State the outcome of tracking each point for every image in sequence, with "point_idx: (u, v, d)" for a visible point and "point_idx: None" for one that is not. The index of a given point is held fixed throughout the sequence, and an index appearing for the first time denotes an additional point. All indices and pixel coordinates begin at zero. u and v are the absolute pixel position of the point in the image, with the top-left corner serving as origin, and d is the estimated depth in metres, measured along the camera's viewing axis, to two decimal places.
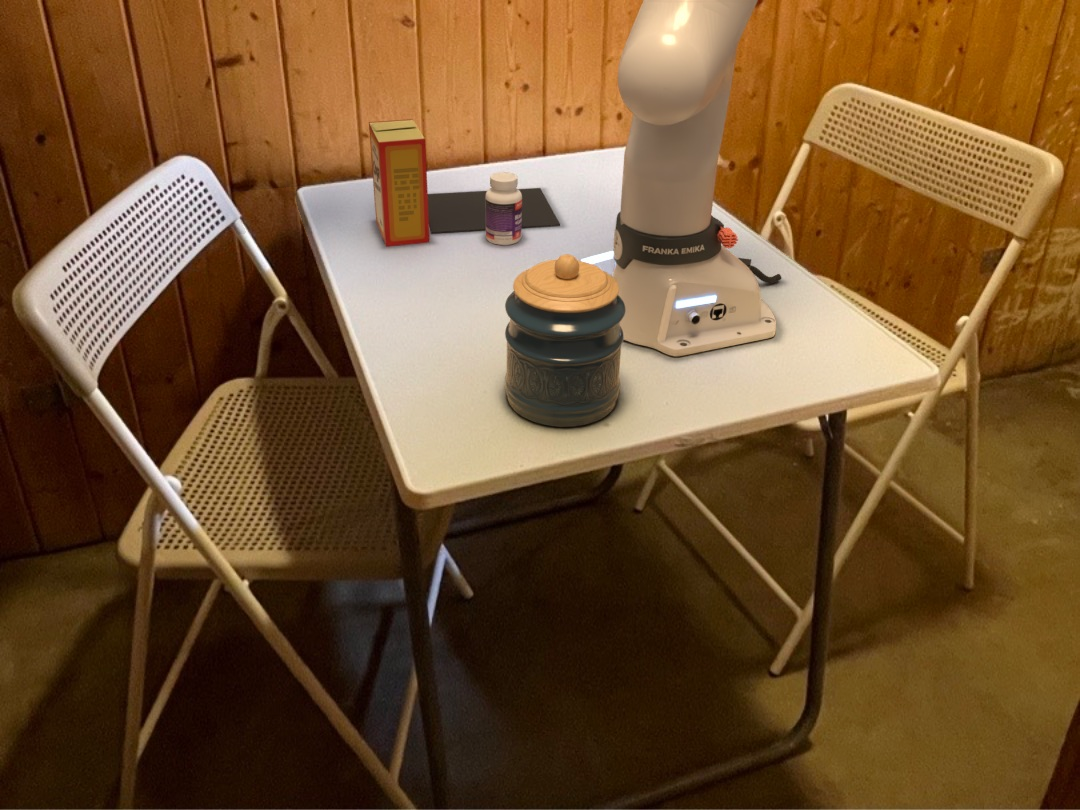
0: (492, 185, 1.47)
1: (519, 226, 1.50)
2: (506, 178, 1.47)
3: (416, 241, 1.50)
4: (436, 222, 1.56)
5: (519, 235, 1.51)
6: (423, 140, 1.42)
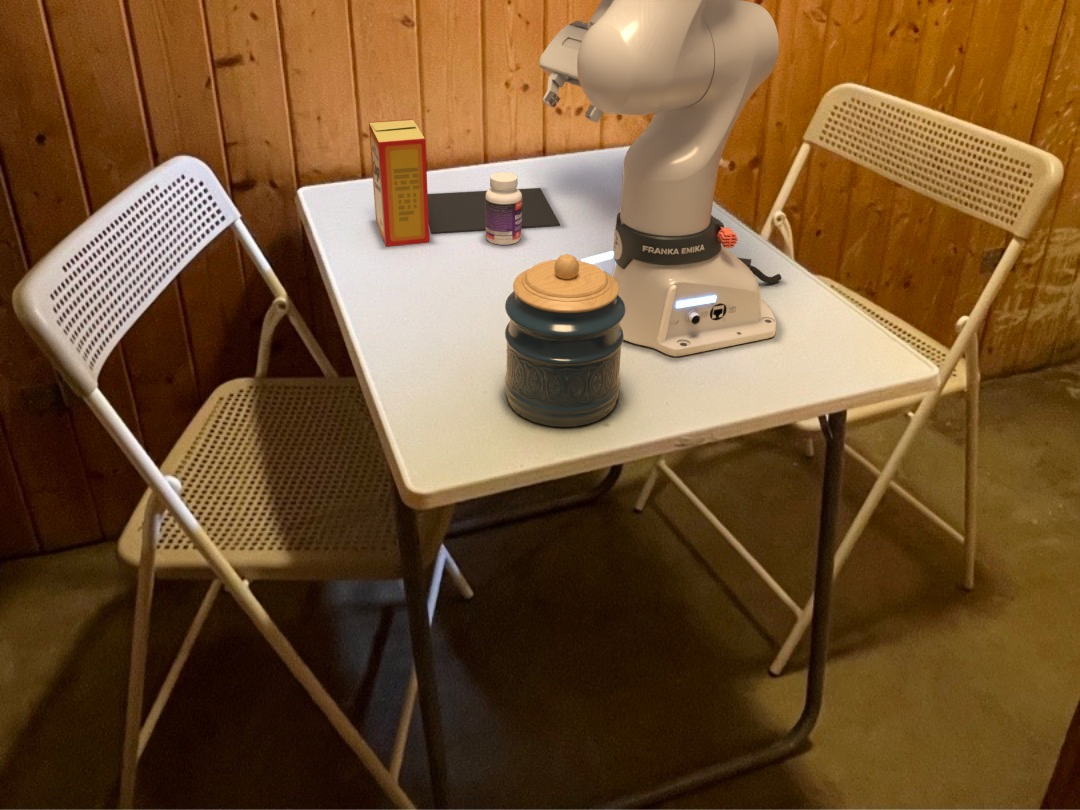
0: (492, 185, 1.47)
1: (519, 226, 1.50)
2: (506, 178, 1.47)
3: (416, 241, 1.50)
4: (436, 222, 1.56)
5: (519, 235, 1.51)
6: (423, 140, 1.42)
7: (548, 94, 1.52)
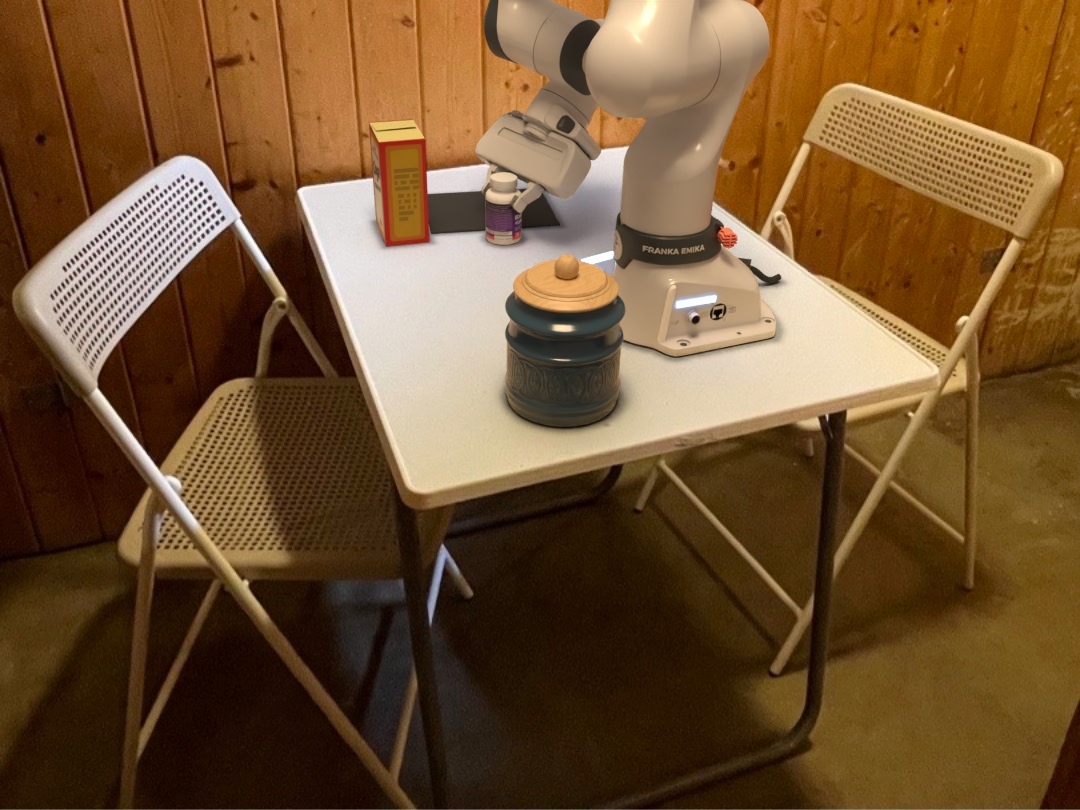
0: (492, 185, 1.47)
1: (519, 226, 1.50)
2: (506, 178, 1.47)
3: (416, 241, 1.50)
4: (436, 222, 1.56)
5: (519, 235, 1.51)
6: (423, 140, 1.42)
7: (487, 185, 1.50)
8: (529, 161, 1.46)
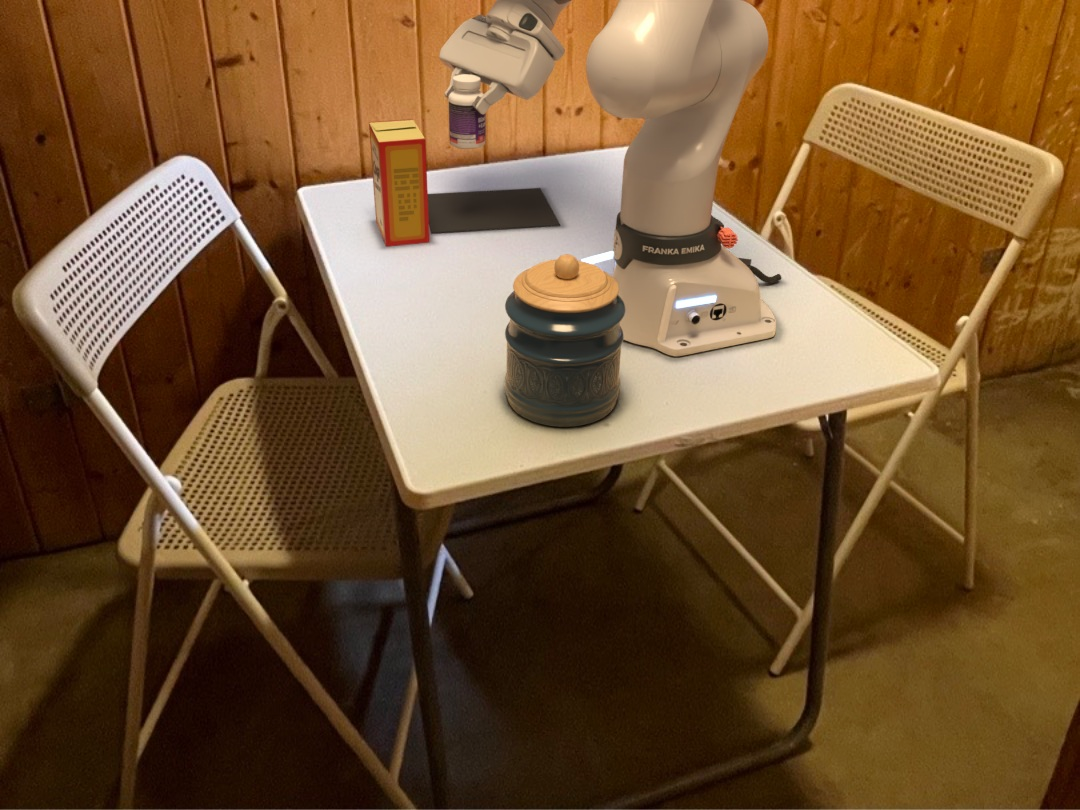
0: (455, 86, 1.45)
1: (483, 130, 1.48)
2: (469, 79, 1.45)
3: (416, 241, 1.50)
4: (436, 222, 1.56)
5: (483, 139, 1.49)
6: (423, 140, 1.42)
7: (450, 89, 1.49)
8: (492, 61, 1.44)
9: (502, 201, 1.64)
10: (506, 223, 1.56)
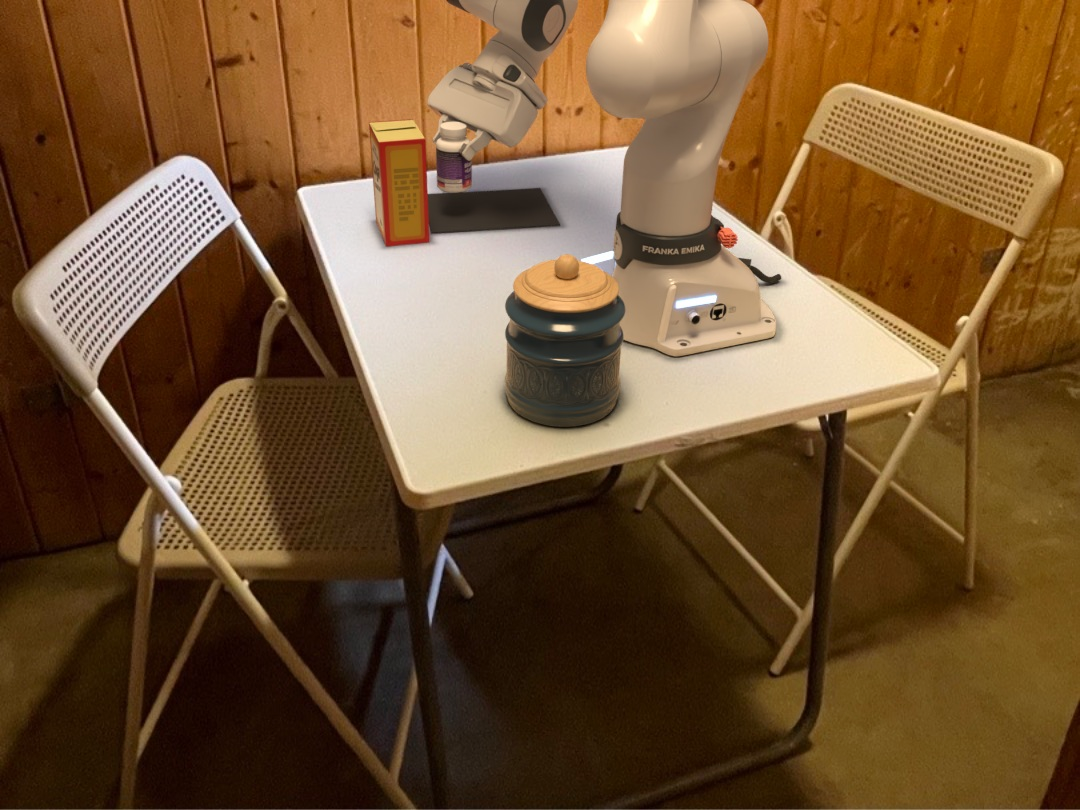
0: (442, 133, 1.51)
1: (469, 174, 1.54)
2: (455, 126, 1.51)
3: (416, 241, 1.50)
4: (436, 222, 1.56)
5: (469, 183, 1.55)
6: (423, 140, 1.42)
7: (438, 135, 1.55)
8: (477, 110, 1.50)
9: (502, 201, 1.64)
10: (506, 223, 1.56)
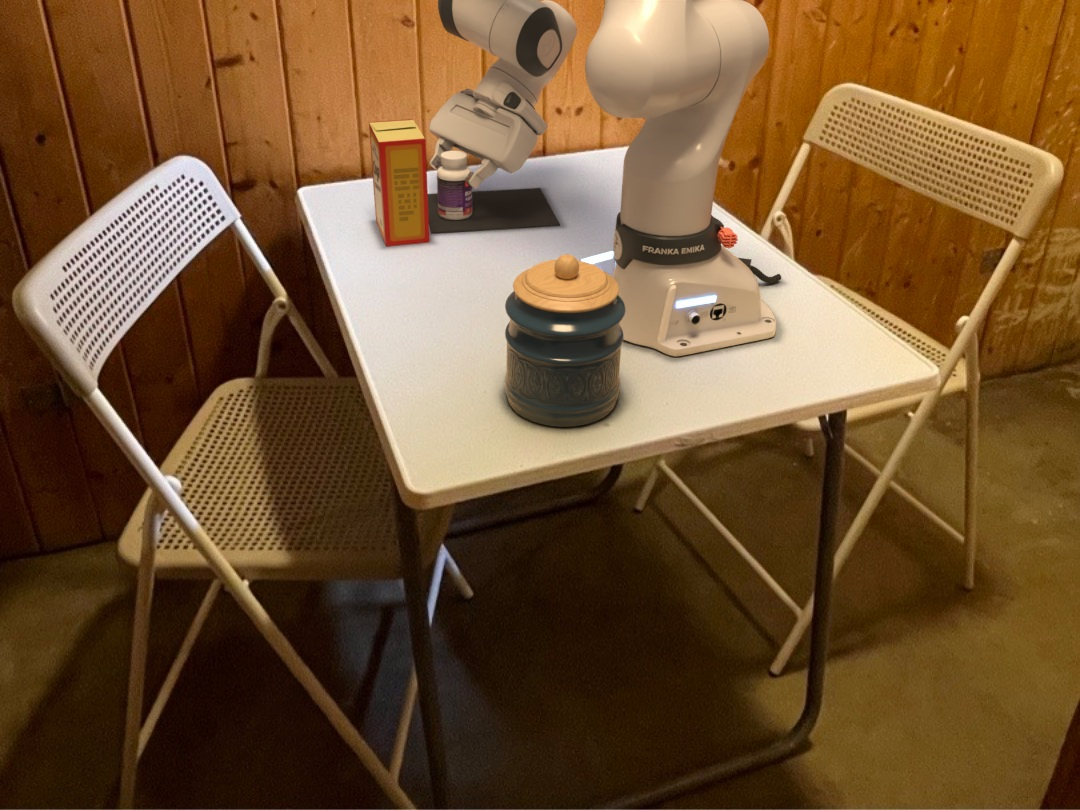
0: (442, 163, 1.53)
1: (469, 202, 1.57)
2: (456, 156, 1.53)
3: (416, 241, 1.50)
4: (436, 222, 1.56)
5: (470, 211, 1.57)
6: (423, 140, 1.42)
7: (435, 158, 1.58)
8: (478, 136, 1.52)
9: (502, 201, 1.64)
10: (506, 223, 1.56)
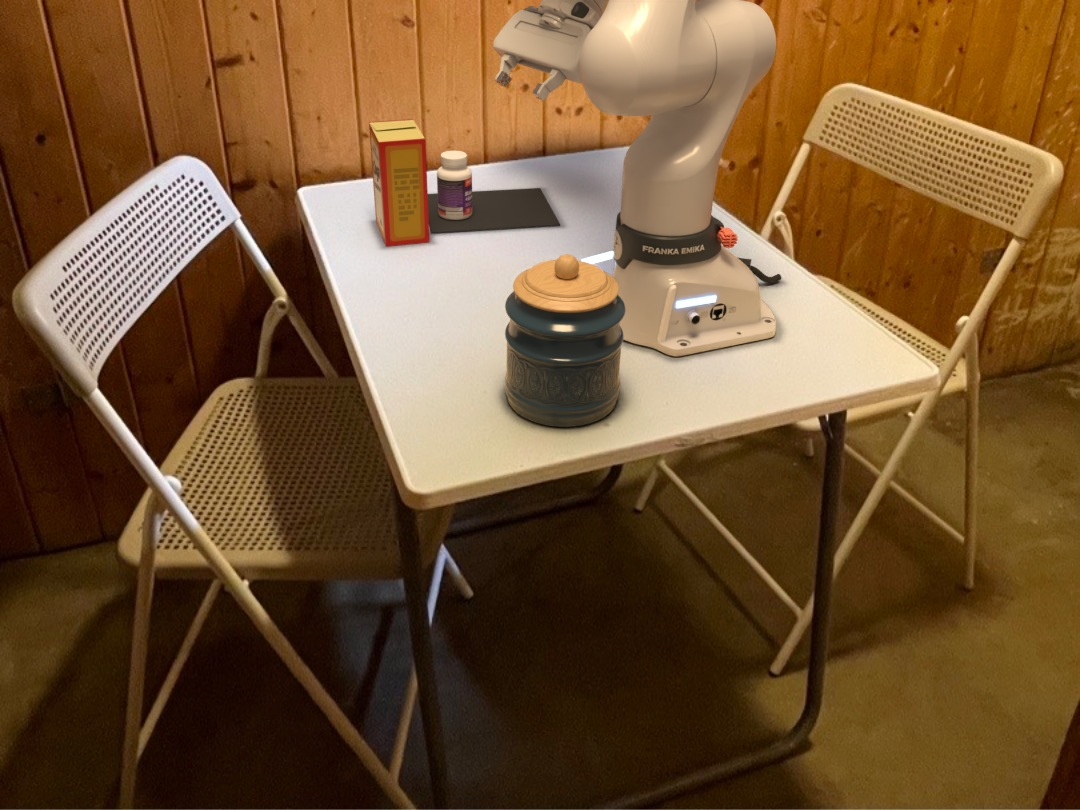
0: (442, 162, 1.53)
1: (469, 202, 1.57)
2: (456, 156, 1.53)
3: (416, 241, 1.50)
4: (436, 222, 1.56)
5: (470, 211, 1.57)
6: (423, 140, 1.42)
7: (500, 74, 1.58)
8: (545, 48, 1.53)
9: (502, 201, 1.64)
10: (506, 223, 1.56)
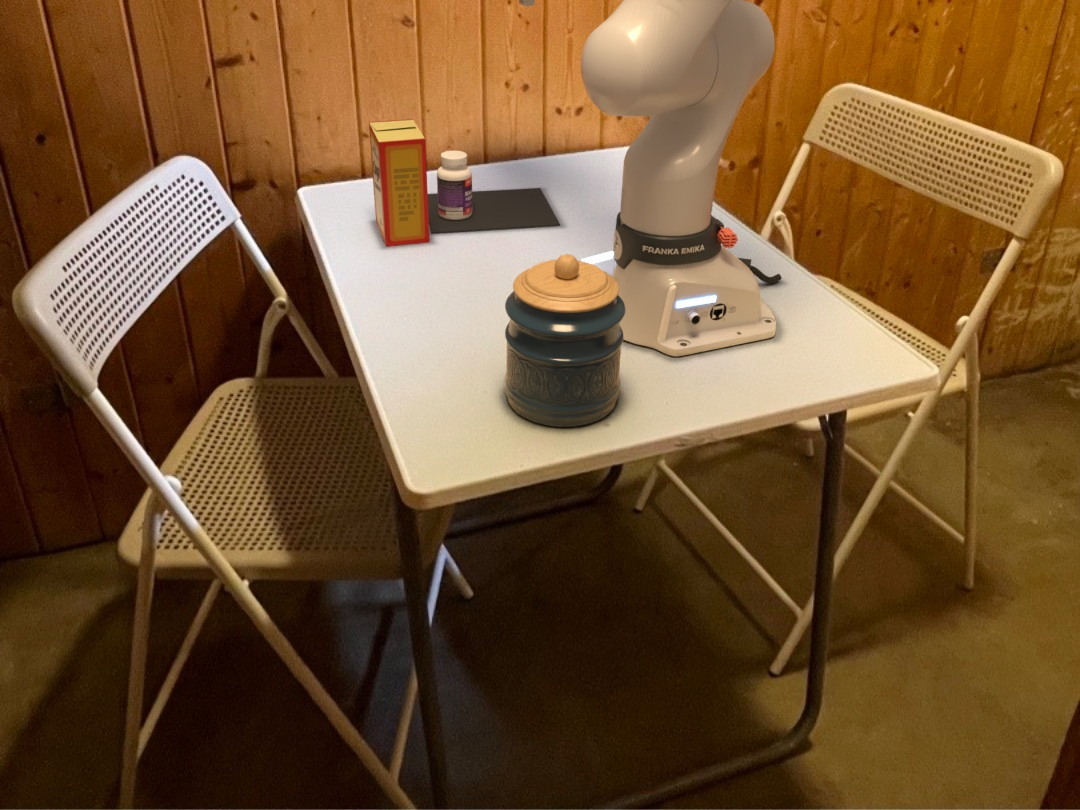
0: (442, 162, 1.53)
1: (469, 202, 1.57)
2: (456, 156, 1.53)
3: (416, 241, 1.50)
4: (436, 222, 1.56)
5: (470, 211, 1.57)
6: (423, 140, 1.42)
7: None
8: None
9: (502, 201, 1.64)
10: (506, 223, 1.56)
